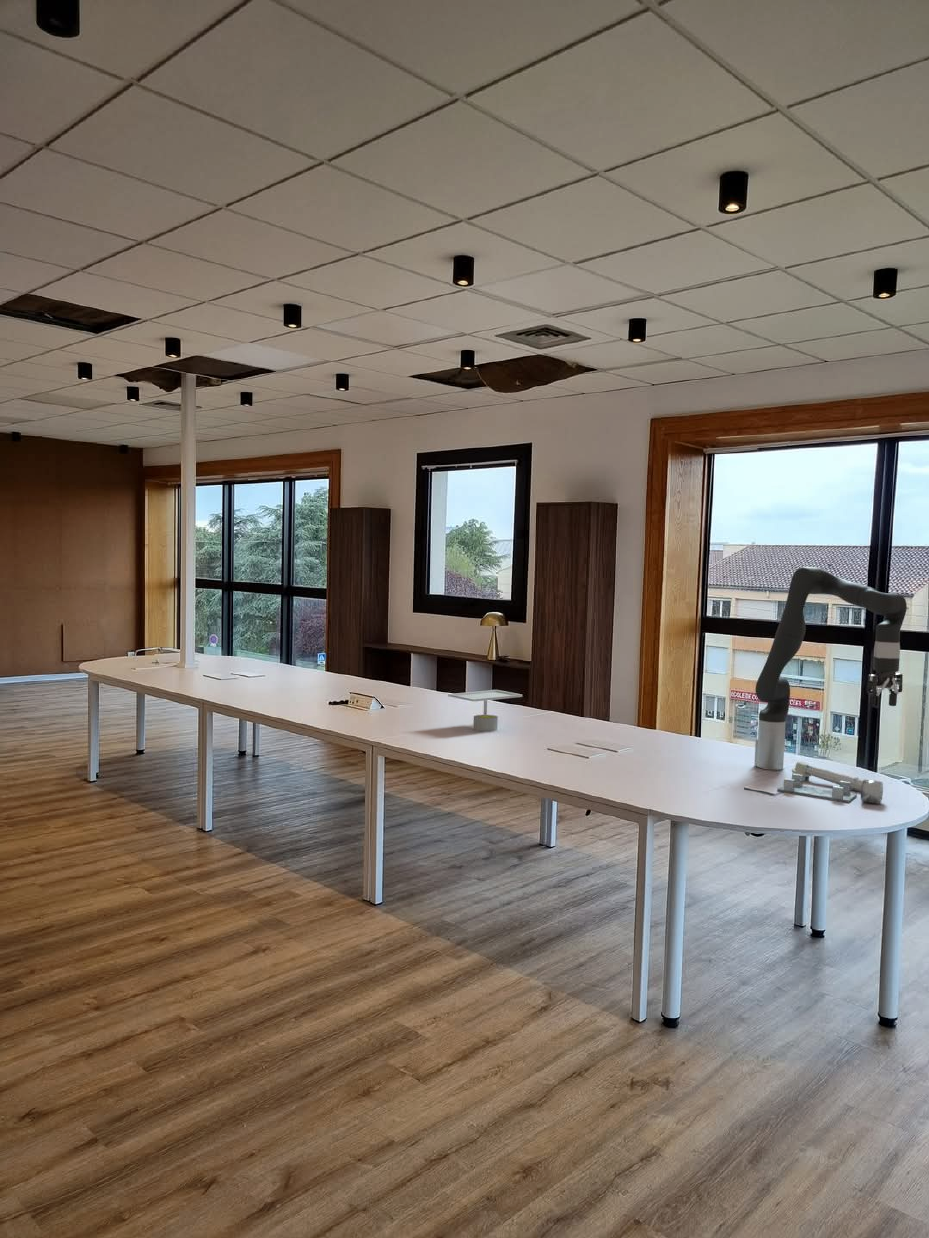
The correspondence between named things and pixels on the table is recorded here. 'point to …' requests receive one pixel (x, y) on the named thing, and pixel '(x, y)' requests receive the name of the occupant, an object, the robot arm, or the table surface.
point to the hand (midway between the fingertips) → (883, 706)
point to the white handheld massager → (826, 775)
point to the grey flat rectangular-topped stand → (485, 707)
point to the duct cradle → (834, 790)
